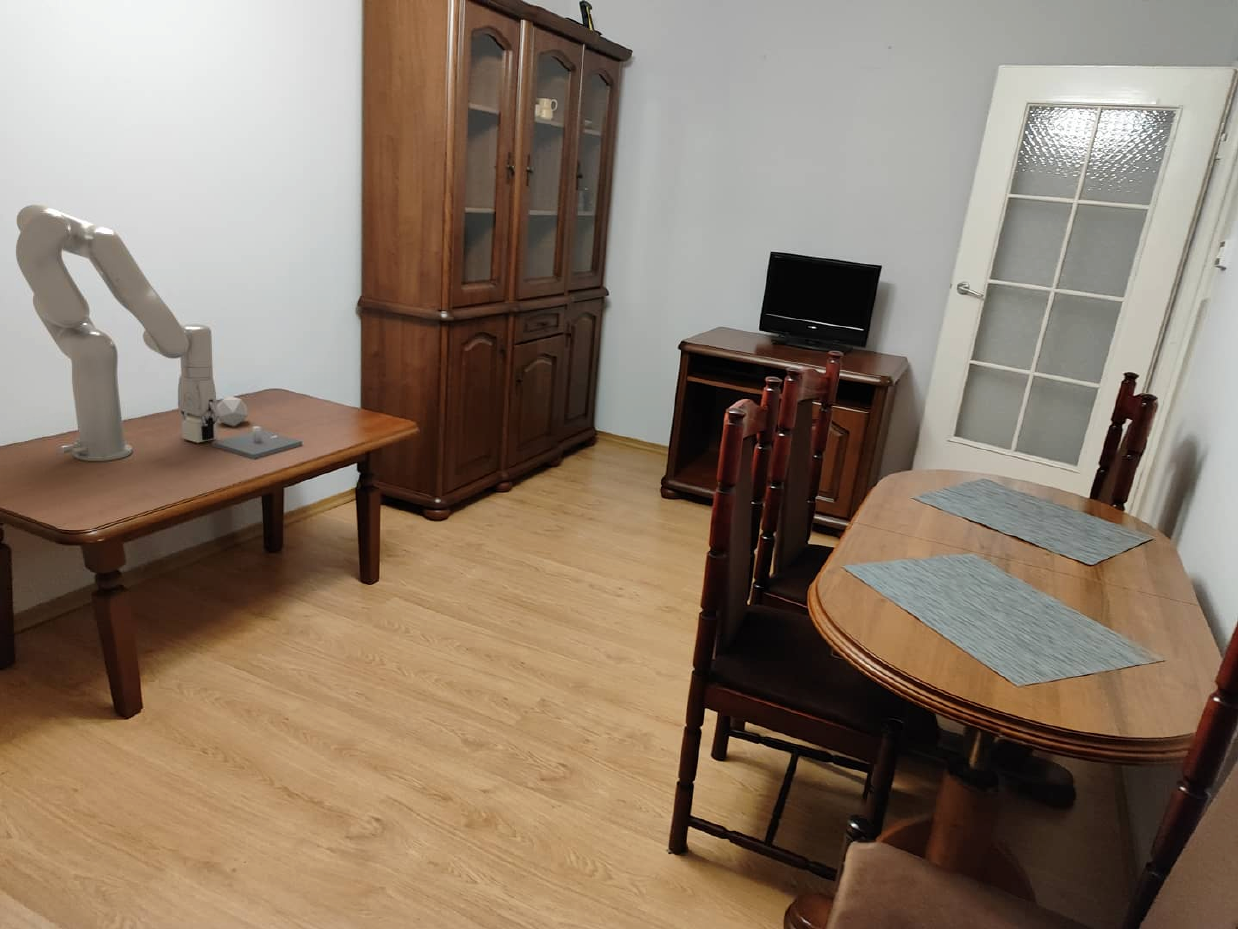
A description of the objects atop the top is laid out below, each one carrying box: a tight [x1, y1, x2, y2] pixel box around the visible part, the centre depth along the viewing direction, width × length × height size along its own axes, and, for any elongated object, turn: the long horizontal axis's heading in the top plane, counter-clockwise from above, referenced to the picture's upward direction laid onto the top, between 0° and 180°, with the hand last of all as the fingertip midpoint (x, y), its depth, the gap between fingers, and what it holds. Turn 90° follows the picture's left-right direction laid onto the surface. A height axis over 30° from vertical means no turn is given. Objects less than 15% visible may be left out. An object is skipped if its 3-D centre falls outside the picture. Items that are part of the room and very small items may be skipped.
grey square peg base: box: [211, 426, 303, 460], centre depth 222 cm, size 16×16×5 cm
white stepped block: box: [181, 414, 218, 444], centre depth 222 cm, size 6×6×6 cm
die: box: [217, 395, 249, 427], centre depth 238 cm, size 8×9×10 cm
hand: (199, 436), depth 222 cm, fingers closed on white stepped block, 6 cm apart
